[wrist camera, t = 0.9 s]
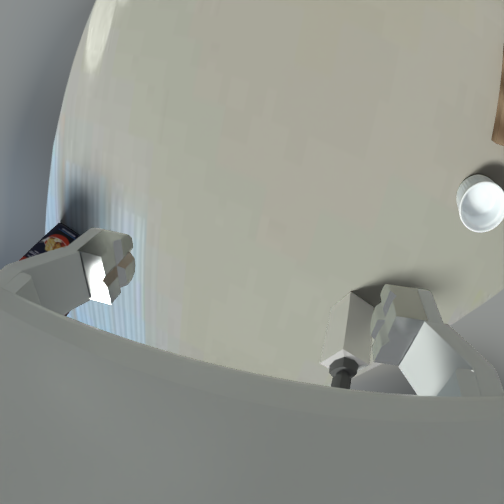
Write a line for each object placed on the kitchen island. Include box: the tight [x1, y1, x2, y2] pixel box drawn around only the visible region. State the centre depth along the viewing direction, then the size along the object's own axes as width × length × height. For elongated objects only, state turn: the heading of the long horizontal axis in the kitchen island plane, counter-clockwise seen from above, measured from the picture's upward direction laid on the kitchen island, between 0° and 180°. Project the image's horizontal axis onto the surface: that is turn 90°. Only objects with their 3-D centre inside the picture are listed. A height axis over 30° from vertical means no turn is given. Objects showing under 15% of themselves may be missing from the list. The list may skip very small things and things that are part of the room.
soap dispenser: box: [320, 291, 374, 389], centre depth 55 cm, size 6×9×22 cm
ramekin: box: [456, 174, 504, 232], centre depth 39 cm, size 9×9×4 cm
